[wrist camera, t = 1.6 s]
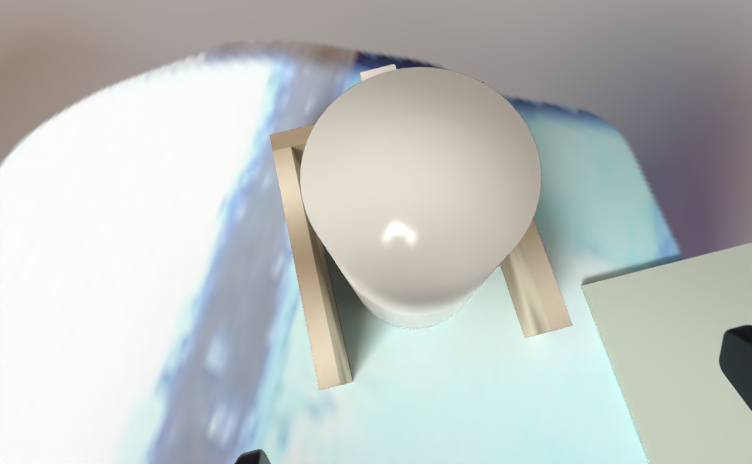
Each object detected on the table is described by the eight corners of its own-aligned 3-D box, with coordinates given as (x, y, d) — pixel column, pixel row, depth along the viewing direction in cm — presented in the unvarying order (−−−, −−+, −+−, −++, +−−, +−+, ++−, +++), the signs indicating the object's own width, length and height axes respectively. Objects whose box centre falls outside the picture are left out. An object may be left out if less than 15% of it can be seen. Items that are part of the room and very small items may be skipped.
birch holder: (542, 333, 21) (572, 325, 17) (335, 386, 21) (319, 390, 17) (470, 127, 24) (483, 81, 20) (291, 173, 24) (269, 135, 20)
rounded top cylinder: (492, 311, 21) (578, 253, 11) (366, 343, 21) (326, 316, 11) (444, 158, 23) (474, -13, 13) (330, 187, 23) (268, 38, 13)
